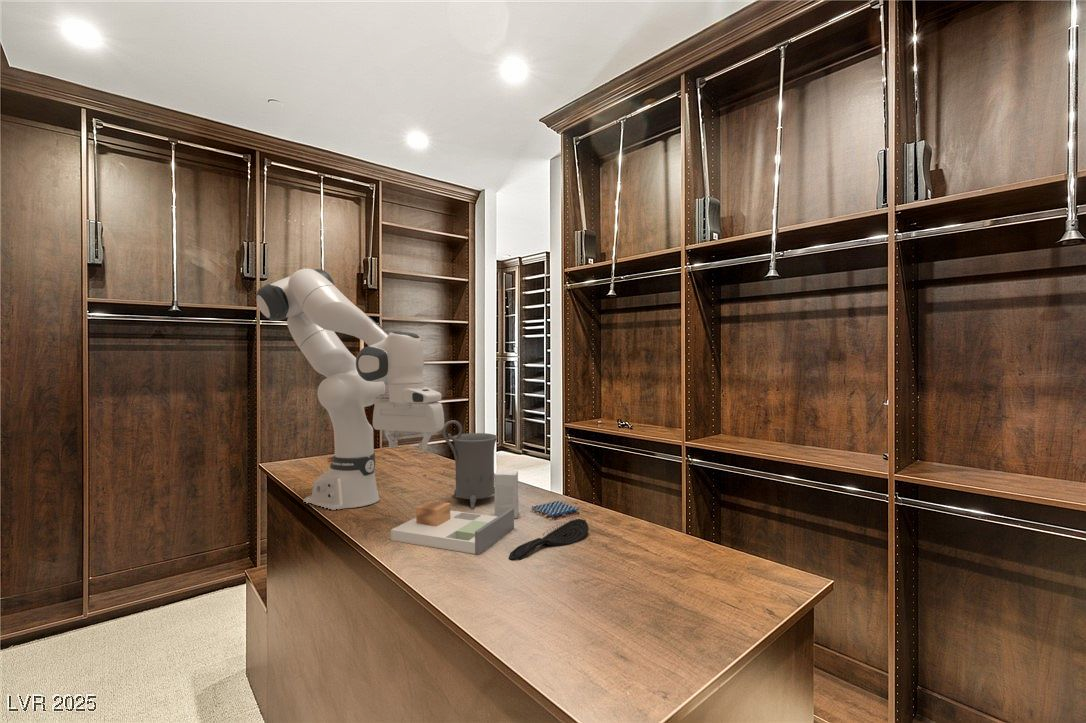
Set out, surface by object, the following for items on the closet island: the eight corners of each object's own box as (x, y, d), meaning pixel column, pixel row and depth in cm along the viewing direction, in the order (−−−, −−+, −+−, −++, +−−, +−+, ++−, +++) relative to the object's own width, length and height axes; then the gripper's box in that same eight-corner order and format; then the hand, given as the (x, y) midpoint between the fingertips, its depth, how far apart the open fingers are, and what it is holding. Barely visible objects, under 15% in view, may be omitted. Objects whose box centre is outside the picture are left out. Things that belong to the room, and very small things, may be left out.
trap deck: (390, 540, 121) (390, 519, 121) (434, 517, 138) (433, 499, 138) (479, 554, 112) (478, 532, 112) (514, 528, 129) (513, 508, 129)
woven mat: (558, 506, 149) (558, 499, 149) (581, 515, 141) (581, 508, 141) (528, 513, 143) (528, 505, 143) (551, 522, 135) (551, 515, 135)
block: (416, 523, 126) (416, 507, 126) (430, 516, 131) (430, 500, 131) (436, 526, 124) (436, 510, 123) (450, 518, 129) (450, 503, 129)
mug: (489, 491, 164) (488, 414, 164) (511, 502, 152) (510, 418, 151) (433, 500, 154) (432, 418, 154) (452, 513, 142) (451, 423, 141)
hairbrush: (496, 544, 112) (570, 512, 130) (497, 560, 112) (570, 526, 130) (523, 554, 106) (596, 519, 124) (523, 571, 107) (596, 534, 125)
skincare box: (518, 514, 141) (518, 471, 140) (516, 519, 136) (516, 474, 136) (497, 513, 141) (496, 470, 141) (494, 518, 137) (493, 474, 137)
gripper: (366, 395, 131) (367, 448, 132) (432, 396, 123) (433, 452, 123) (383, 393, 137) (384, 444, 137) (446, 393, 129) (448, 448, 129)
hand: (408, 448), depth 130 cm, fingers open, 8 cm apart
